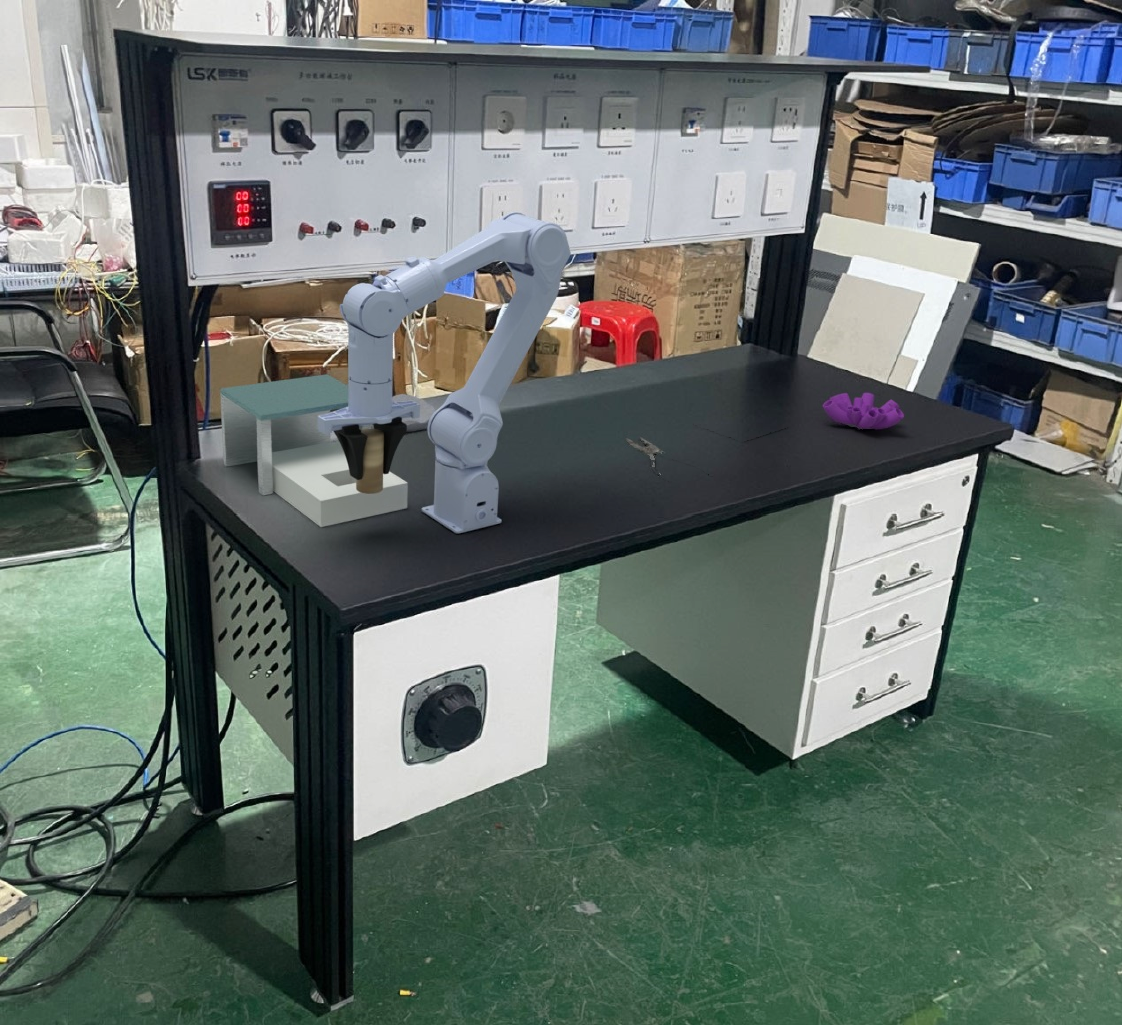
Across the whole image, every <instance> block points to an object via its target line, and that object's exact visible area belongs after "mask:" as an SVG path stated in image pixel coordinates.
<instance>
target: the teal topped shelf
mask: <svg viewBox="0 0 1122 1025" xmlns="http://www.w3.org/2000/svg"><path fill="white" fill-rule="evenodd" d="M219 393H220V394H219V395H220V411H221V412H220V414H221V415H220V416H221V434H222V435H221V437H222V438H221V439H222V455H223V456H222V457H223V459H222V460H223V461H222V462H223V466H225V467H232V466H238V465H244V464H249V463H256V462H257V480H258V493H259V494H261V495H262V496H266V495H267V496H268V495H271V494H272V495H273V494H274V491H273V484H272V452H277V451H283V450H289V449H295V448H300V447H306V446H312V445H318V444H323V443H329V442H332V441H331V433H329V434H324V433H322V432H321V431H319V430H318V417H317V416H320V415H325V414H328V413H331V411H336V410H340V409H342V408H345V407H348V384H345V383H343V382H342V381H340V380H338V379H336V378H335V377H333V376H331V375H329V374H328V373H327V374H326V373H325V374H321V375H312V376H303V377H296V378H289V379H281V380H275V381H273V380H272V381H267V382H260V383H258V382H257V383H253V384H251V383H250V384H243V385H237V386H227V387H221V388H220V389H219ZM359 429H361V430H362V429H371V424H369V425H363V426H359ZM257 455H258V459H257Z"/></svg>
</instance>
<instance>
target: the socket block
mask: <svg viewBox="0 0 1122 1025" xmlns="http://www.w3.org/2000/svg"><path fill="white" fill-rule="evenodd" d="M257 459H258V455H257ZM272 484H273V493H275V494H276V495H278V496H279V497H280V498H282V499H283V500H284V501H286V502H287V503H289V504H290V505H291V507H293V508H295V509H297V511H299V512H301V514H302V515H304V516H306V518H308V519H310V520H311V521H312V522H314V523H315V524H316V525H317V526H319V527H320V528H324V527H329V526H333V525H337V524H338V525H339V524H341V523H347V522H351V521H354V520H360V519H364V518H369V517H373V516H378V515H382V514H386V513H391V512H395V511H401V510H404V509H408V485H409V483H408V482H407V481H406V480H404V479H402V478H401V477H400V476H398V475H397V474H395V473H393V472H391V471H390V470H389V474H383V490H382V491H381V492H379V493H374V494H366V493H361V492H359V491H357V490H356V479H355V478H353V477H352V476H350V472H349V467H348V463H347V460H346V457H345V454H344V451H343V449H342V446H341V444H340V442H339V440H336V441H331V442H329V443H323V444H318V445H312V446H306V447H300V448H295V449H289V450H283V451H277V452H272Z"/></svg>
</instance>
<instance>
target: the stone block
mask: <svg viewBox="0 0 1122 1025" xmlns="http://www.w3.org/2000/svg"><path fill="white" fill-rule="evenodd" d="M411 400H413V401H415V402H416V403H418V404H420V418H411V417H409V418H403V419H402V422H403V423H405V424H406V425H407V432H408V433H409V432H416V431H422V430H427V429H428V422H429V420H430V418H431V416H432V415H433V413H434V412H435V411H436V410H437V409H435V407H434V406H433V405H431V404H429V403H428V402H426V401H425V400H424V399H422V398H419V397H418V396H415V395H409V394H405V393H401V394H396V395H392V402H402V401H411ZM371 429H374V426H373V424H371ZM407 432H406V433H407Z"/></svg>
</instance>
